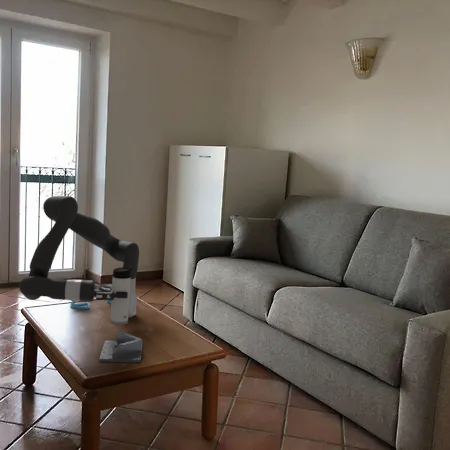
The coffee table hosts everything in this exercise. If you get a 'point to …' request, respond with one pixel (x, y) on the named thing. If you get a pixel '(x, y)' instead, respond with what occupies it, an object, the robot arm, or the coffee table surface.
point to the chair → (79, 305)
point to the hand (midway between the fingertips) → (128, 292)
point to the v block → (122, 349)
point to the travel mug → (120, 304)
